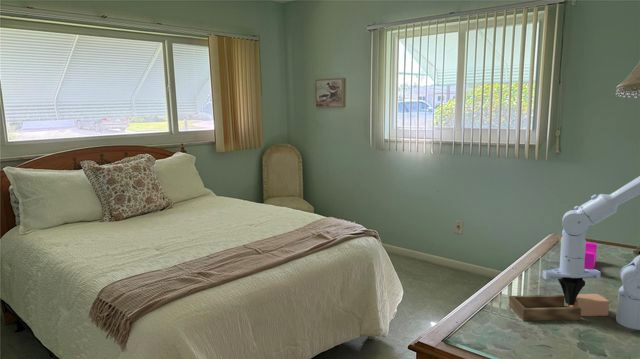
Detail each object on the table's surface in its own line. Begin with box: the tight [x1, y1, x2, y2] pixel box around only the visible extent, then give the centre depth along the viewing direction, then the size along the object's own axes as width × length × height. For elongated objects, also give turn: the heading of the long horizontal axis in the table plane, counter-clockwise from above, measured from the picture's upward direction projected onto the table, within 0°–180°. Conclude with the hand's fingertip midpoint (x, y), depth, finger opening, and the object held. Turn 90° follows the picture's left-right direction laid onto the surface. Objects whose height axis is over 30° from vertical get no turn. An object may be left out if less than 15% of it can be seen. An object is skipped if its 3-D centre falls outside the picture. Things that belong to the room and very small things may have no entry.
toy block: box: [584, 241, 598, 269], centre depth 155 cm, size 15×6×8 cm, turn 145°
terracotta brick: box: [567, 293, 610, 317], centre depth 121 cm, size 8×5×4 cm, turn 90°
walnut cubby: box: [508, 294, 582, 322], centre depth 121 cm, size 15×9×3 cm, turn 90°
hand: (569, 303), depth 121 cm, fingers closed
